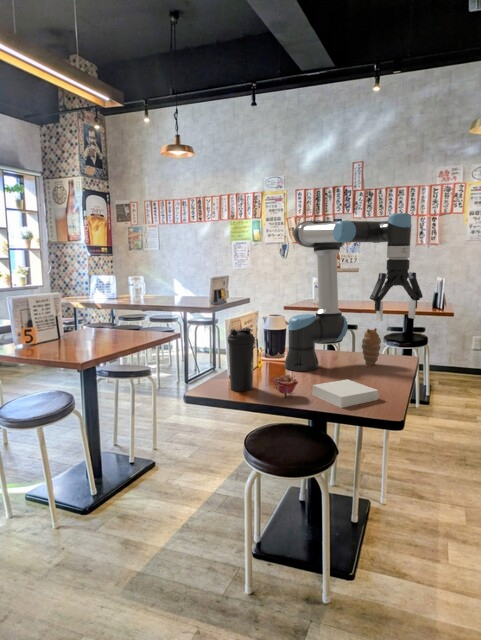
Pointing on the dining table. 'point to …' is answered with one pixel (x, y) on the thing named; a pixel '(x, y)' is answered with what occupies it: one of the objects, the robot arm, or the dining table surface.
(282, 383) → the flower
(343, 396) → the block
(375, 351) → the cat ice cream
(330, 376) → the dining table surface
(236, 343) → the water bottle
